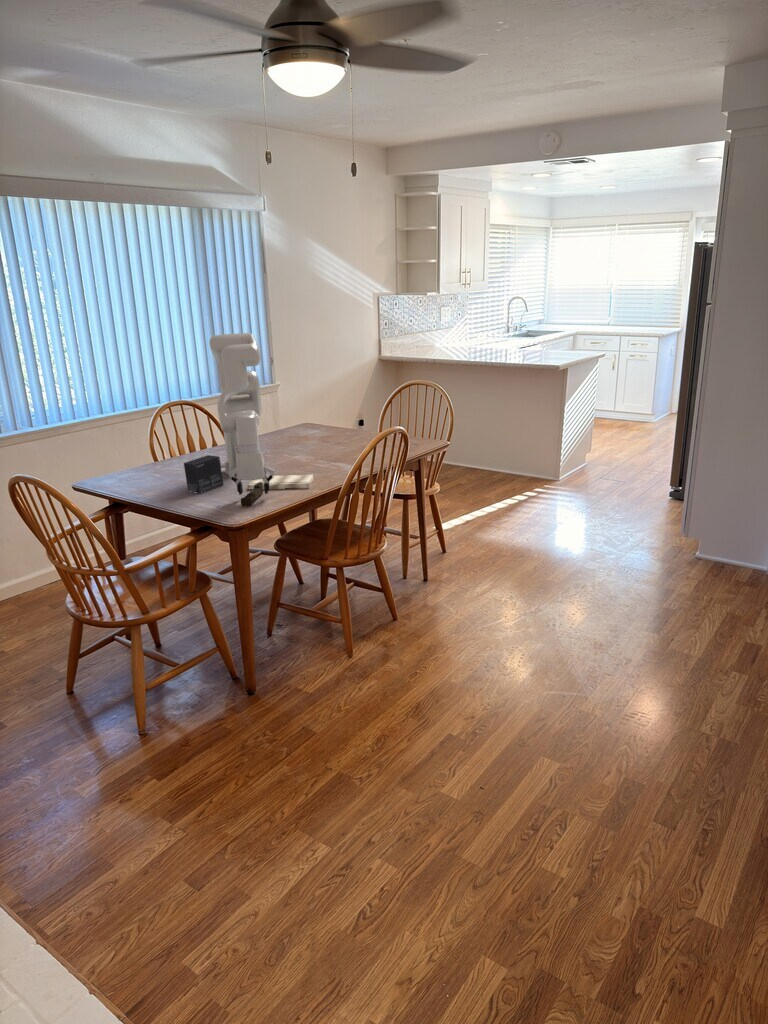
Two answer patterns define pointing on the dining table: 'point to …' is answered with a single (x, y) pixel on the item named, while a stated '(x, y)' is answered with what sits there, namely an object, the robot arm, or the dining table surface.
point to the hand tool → (252, 495)
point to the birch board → (285, 482)
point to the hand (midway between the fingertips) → (253, 493)
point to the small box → (203, 473)
